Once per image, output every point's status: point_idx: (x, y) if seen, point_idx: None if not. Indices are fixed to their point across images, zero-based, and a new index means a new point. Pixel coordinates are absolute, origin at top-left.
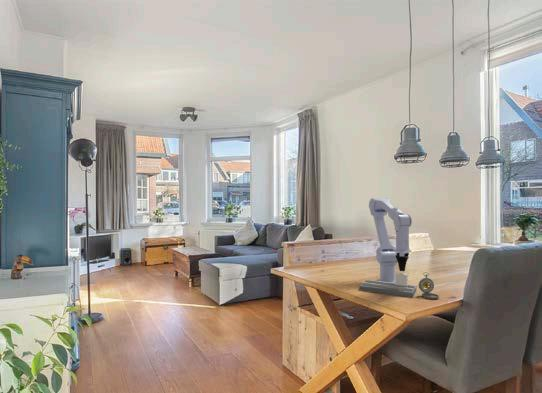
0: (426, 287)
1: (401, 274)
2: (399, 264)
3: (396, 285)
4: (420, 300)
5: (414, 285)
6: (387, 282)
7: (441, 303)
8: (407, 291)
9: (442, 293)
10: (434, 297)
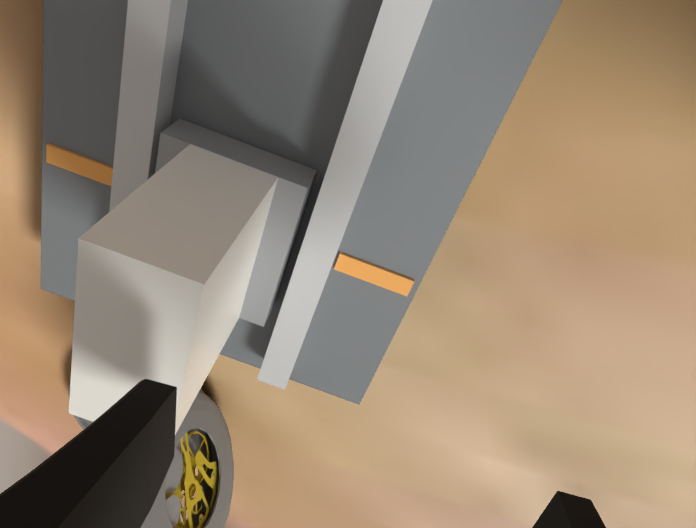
0: (184, 461)
1: (78, 342)
2: (8, 523)
3: (158, 153)
4: (3, 295)
5: (280, 387)
6: (383, 30)
7: (7, 415)
8: (67, 244)
9: (316, 519)
10: (78, 422)
